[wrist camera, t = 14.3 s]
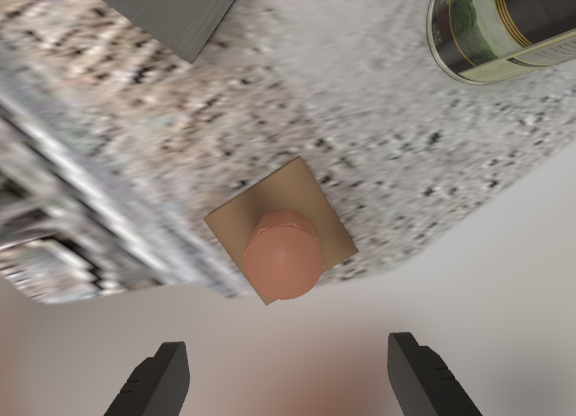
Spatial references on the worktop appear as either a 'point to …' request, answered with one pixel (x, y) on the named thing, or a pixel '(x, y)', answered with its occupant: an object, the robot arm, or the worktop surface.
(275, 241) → the cap
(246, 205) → the peg block
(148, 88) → the worktop surface
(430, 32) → the coffee can
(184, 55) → the skincare box
